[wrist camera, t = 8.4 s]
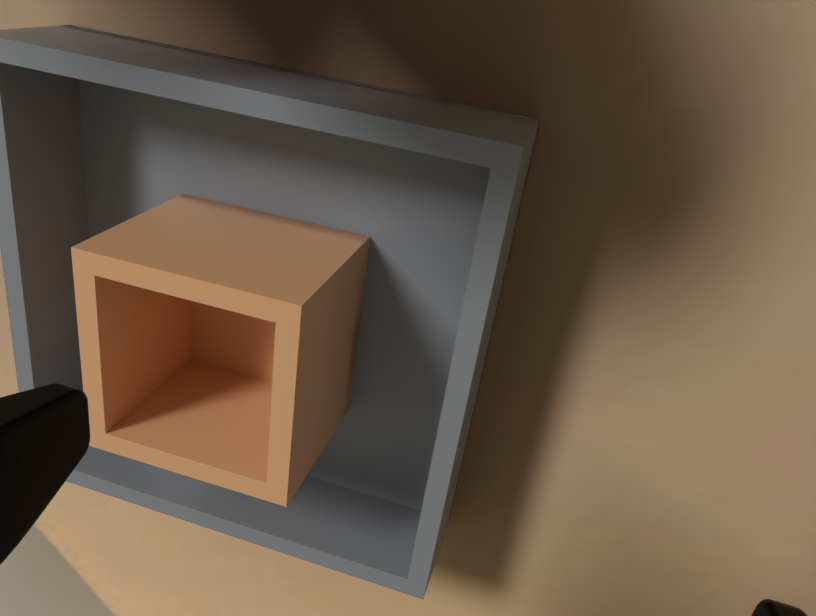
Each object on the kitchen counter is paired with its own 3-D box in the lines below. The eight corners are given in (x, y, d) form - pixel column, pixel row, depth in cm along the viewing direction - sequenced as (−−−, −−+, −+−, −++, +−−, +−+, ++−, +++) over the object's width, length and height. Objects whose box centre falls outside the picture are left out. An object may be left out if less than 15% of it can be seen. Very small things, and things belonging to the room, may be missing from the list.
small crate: (370, 236, 20) (301, 306, 16) (350, 407, 23) (286, 506, 19) (183, 193, 21) (70, 247, 17) (184, 361, 24) (87, 445, 20)
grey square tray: (539, 118, 18) (523, 146, 15) (447, 522, 24) (423, 599, 21) (69, 24, 21) (-27, 32, 18) (95, 413, 27) (28, 468, 24)
